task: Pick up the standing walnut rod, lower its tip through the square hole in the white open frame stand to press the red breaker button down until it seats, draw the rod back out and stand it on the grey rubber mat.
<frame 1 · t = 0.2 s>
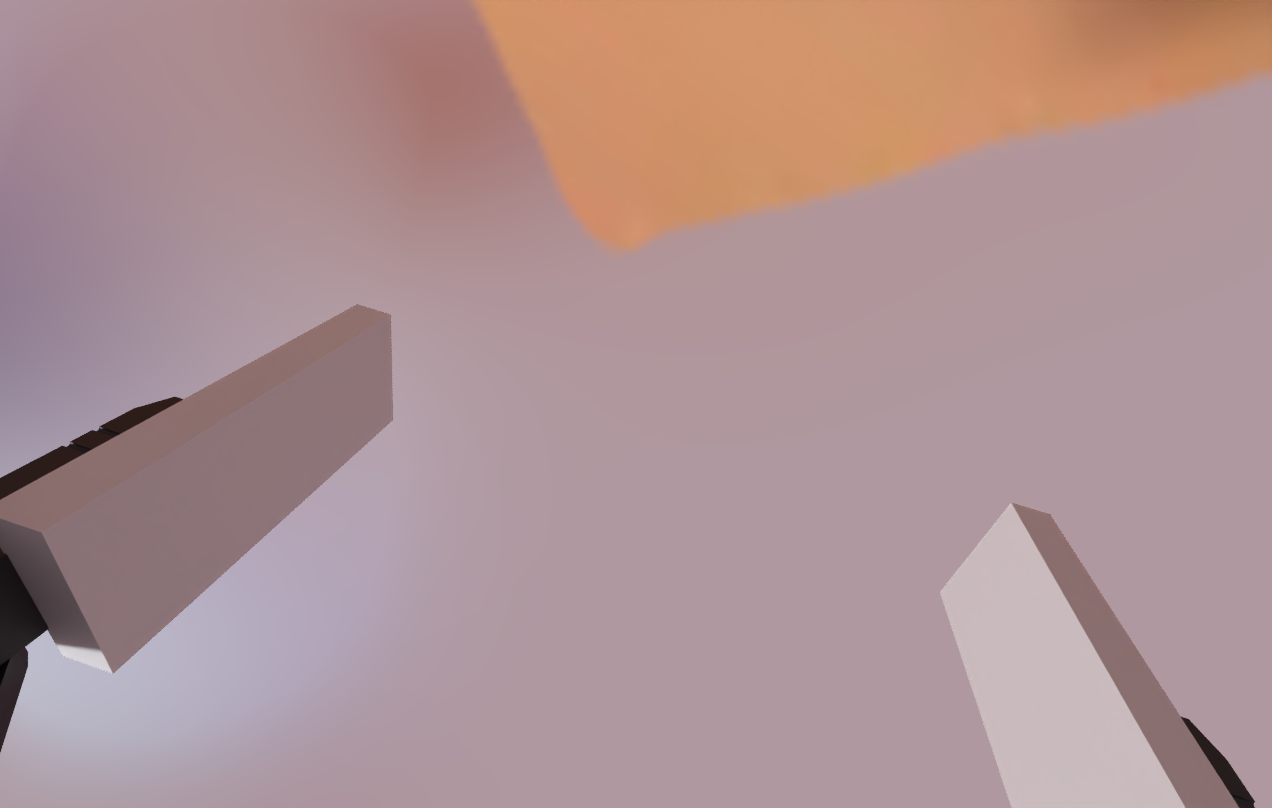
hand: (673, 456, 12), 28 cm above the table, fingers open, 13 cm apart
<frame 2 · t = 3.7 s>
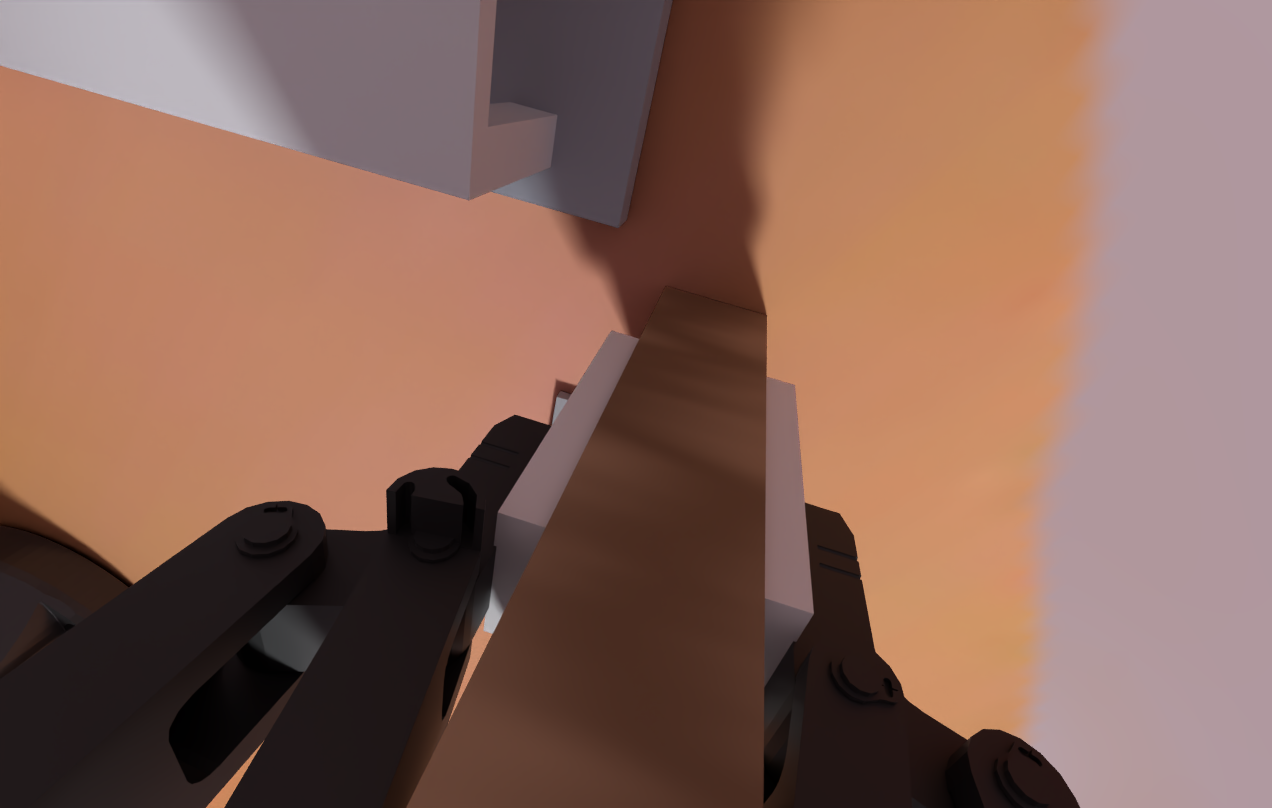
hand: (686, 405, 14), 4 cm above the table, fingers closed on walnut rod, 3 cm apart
walnut rod: (701, 346, 17), on the table, touching gripper
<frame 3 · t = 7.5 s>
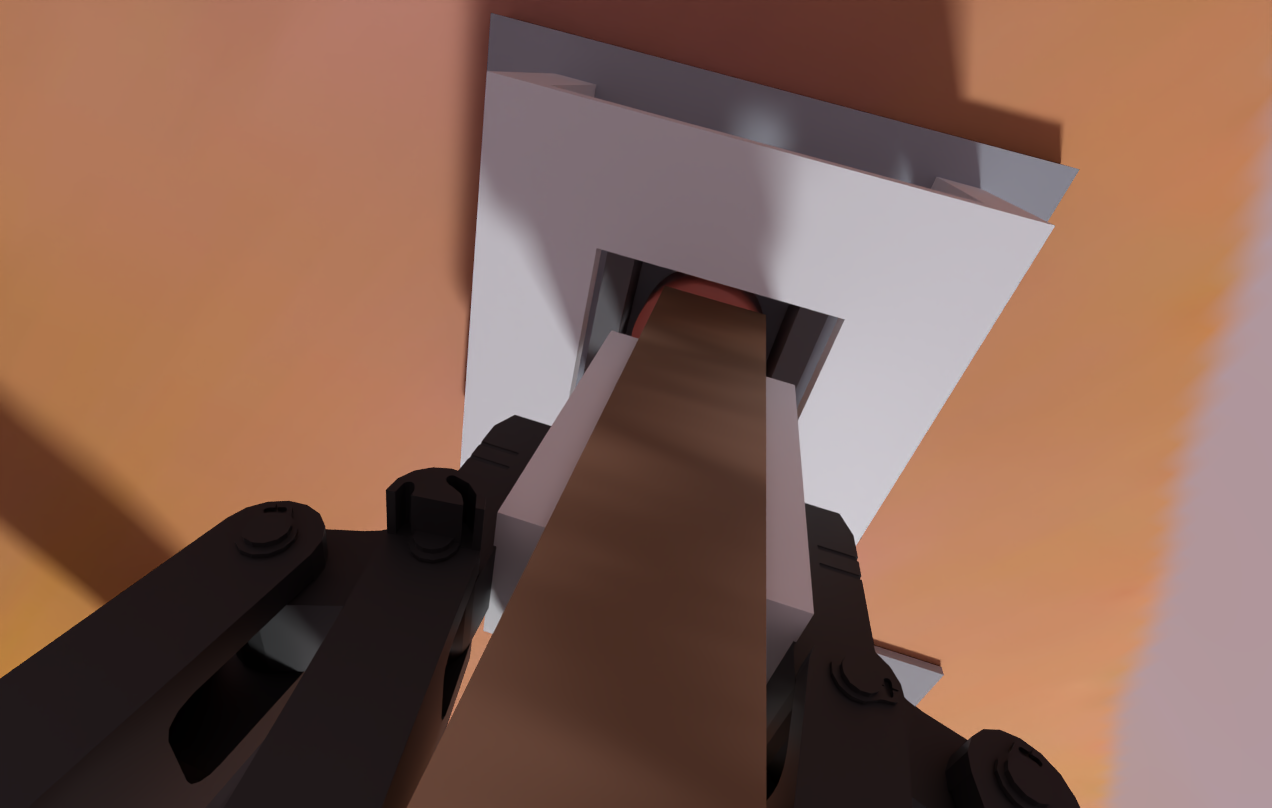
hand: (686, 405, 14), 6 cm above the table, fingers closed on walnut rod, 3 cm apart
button: (698, 337, 18), point 2 cm above the table, slide at 1.6 cm, touching white open frame stand, walnut rod
walnut rod: (700, 346, 17), point 3 cm above the table, touching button, gripper
mat: (820, 687, 28), on the table
white open frame stand: (704, 315, 19), on the table
when the fingers open (5 cm above the table, at t = 12.1 s): walnut rod drops 1 cm, resting on mat.
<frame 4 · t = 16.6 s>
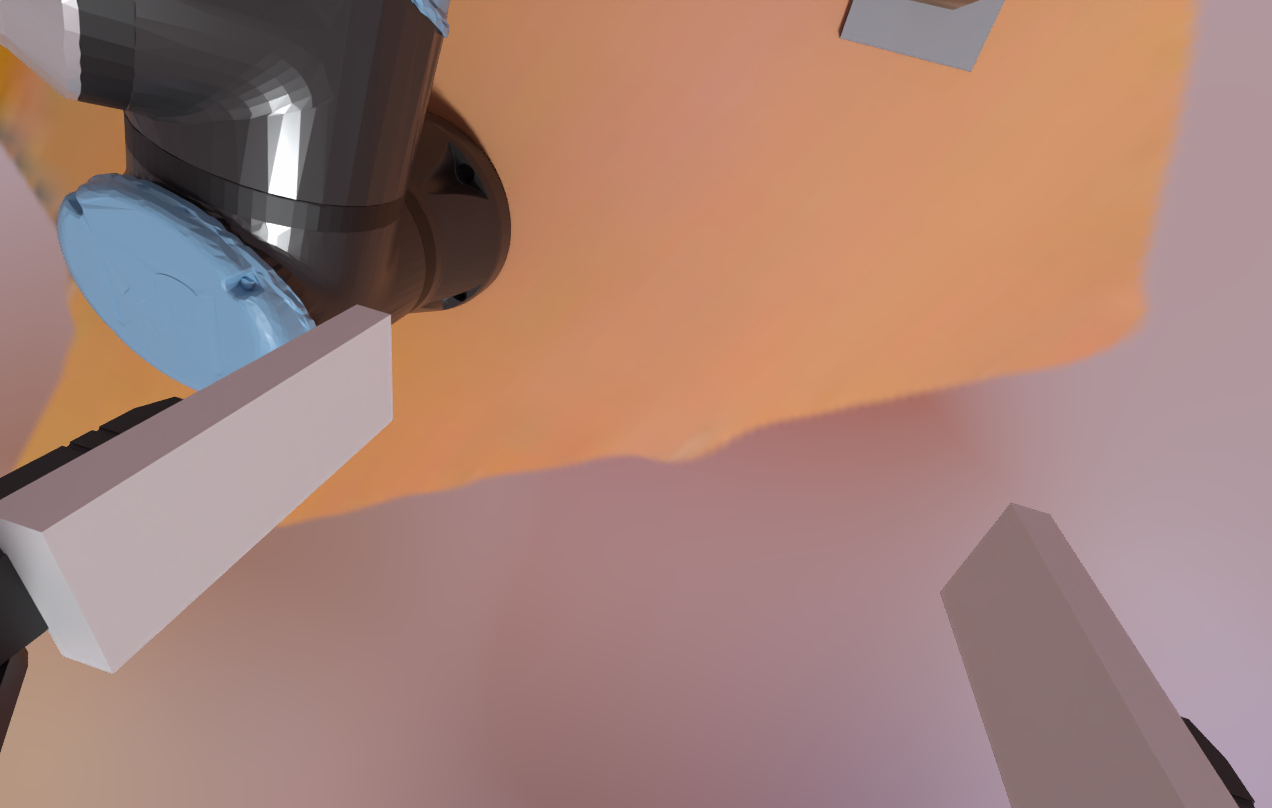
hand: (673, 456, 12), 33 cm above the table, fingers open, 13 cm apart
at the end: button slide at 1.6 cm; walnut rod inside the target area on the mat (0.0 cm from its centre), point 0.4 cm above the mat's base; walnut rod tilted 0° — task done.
